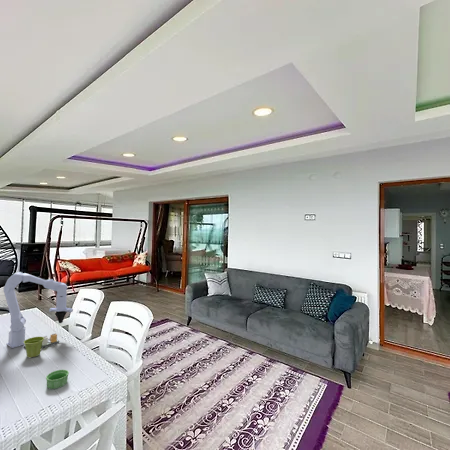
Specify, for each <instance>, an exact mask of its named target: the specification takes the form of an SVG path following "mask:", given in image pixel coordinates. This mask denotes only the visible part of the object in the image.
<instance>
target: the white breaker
mask: <svg viewBox="0 0 450 450" xmlns="http://www.w3.org/2000/svg"><path fill="white" fill-rule="evenodd" d="M43 337H44V340H43V342H42V345H46V344H48V338H49V337H48V336H47V335H45V336H43Z"/></svg>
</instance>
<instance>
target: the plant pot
mask: <svg viewBox="0 0 450 450" xmlns="http://www.w3.org/2000/svg"><path fill="white" fill-rule="evenodd" d="M43 340H44V336H33V337H29V338H27V339H25V341H24V345H25V347H26V349H25V352H26V357H27V358H36V357H38V356H40V354H41V351H42V349H41V346H42V342H43Z"/></svg>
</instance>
